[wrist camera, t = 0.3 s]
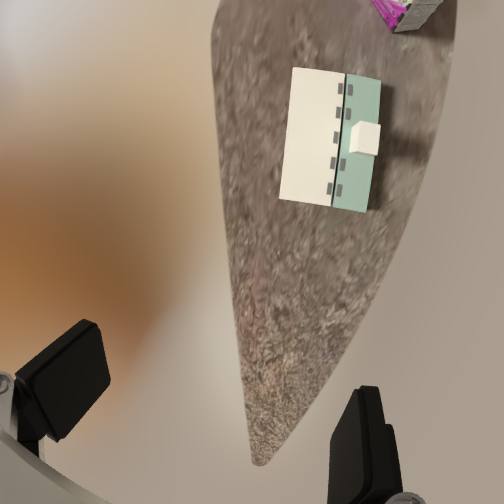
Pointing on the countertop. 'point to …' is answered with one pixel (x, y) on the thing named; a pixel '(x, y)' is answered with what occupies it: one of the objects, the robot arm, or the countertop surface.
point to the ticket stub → (357, 143)
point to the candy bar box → (406, 13)
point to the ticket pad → (312, 136)
